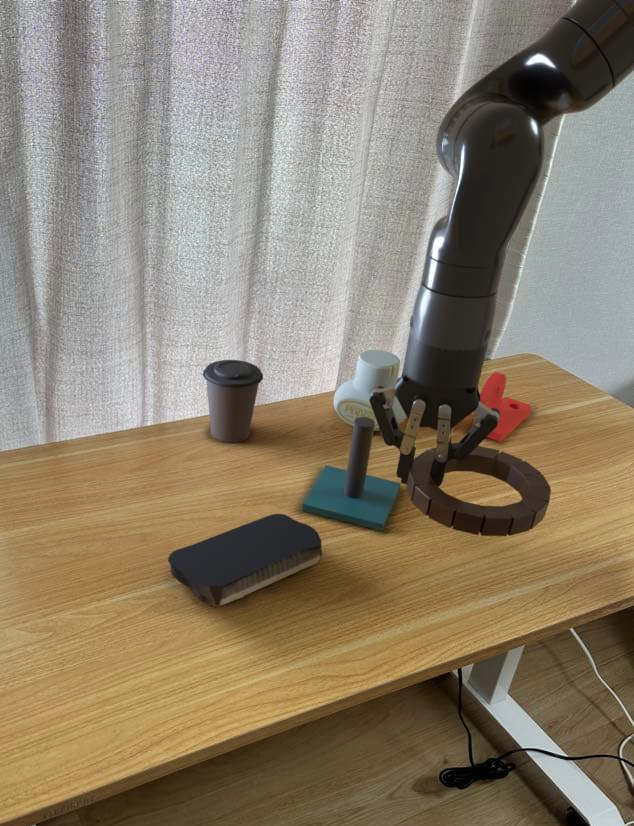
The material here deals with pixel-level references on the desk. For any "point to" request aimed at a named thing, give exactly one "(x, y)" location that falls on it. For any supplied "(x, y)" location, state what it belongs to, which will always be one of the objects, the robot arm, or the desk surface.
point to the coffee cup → (231, 398)
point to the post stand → (354, 486)
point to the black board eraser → (246, 558)
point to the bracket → (502, 406)
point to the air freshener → (368, 387)
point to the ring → (478, 516)
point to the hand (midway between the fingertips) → (418, 482)
